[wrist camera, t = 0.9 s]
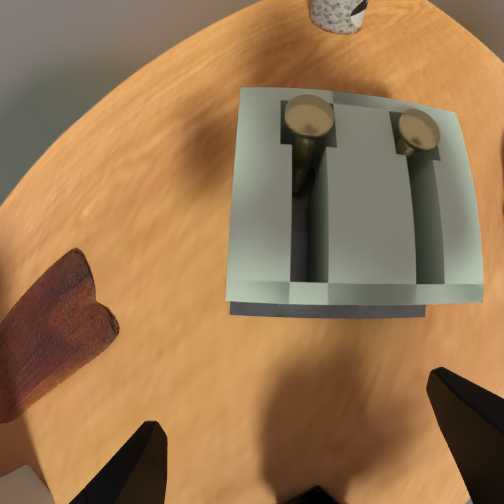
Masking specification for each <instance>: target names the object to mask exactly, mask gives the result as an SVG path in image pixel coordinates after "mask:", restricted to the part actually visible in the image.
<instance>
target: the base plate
mask: <svg viewBox="0 0 504 504" xmlns="http://www.w3.org/2000/svg"><path fill="white" fill-rule="evenodd" d="M334 118H335V115H334V111H333V109H332V107H331V106H330V104H329V103H328V102H327V101H325V100H324V99H322V98H320V97H318V96H314V95H299V96H296V97H294V98H292V99H291V100H290V101H289V102H288V103H287V105H286V107H285V116H284V120H285V124H286V126H287V128H288V129H289V130H290V131H291V132H292V133H293V134H294V135H295V143H294V151H293V159H292V215H291V259H290V282H307V256H308V200H309V197H310V194H311V191H312V188H313V185H314V182H315V168H309V164H310V160H311V156H312V152H313V148H314V144H315V140H316V139H319V138H322V137H324V136H326V135H327V134H328V133H329V132H330V130H331V129H332V126H333V122H334ZM397 130H398V133H399V135H400V137H401V138H400V139H399V141H398V142H397V144H396V145H395V149H396V154H399V155H406V160H408V159H409V158H410V156H411V155H412V154H413V153H414V152H415V151H418V152H429V151H431V150H432V149H433V148H434V147H435V146H436V145H437V144H438V143H439V141H440V130H439V127H438V125H437V124H436V122H435V121H434V120H433V118H432V117H431V116H429V115H428V114H427V113H425V112H423V111H421V110H418V109H407V110H405V111H404V112H403V113H402V115H401V117H400V118H399V120H398V122H397ZM230 315H245V316H266V317H294V318H406V317H425V305H373V306H364V305H300V304H271V303H248V302H234V301H230Z"/></svg>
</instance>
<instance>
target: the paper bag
mask: <svg viewBox="0 0 504 504" xmlns="http://www.w3.org/2000/svg"><path fill="white" fill-rule="evenodd" d="M0 504H55V502H54V500H53V497H52V495H51V493H50V491H49V490H48V488H47V487H46V486H45V485H44V483H43V482H42V481H41V479H40V478H39V477H38V476H37V474H36V473H35V472H34V470H33V469H32V468H31V467H30V466H29V465H24V466H22V467H20V468H18V469H16V470H15V471H13V472H11V473H9V474H7V475H5V476H3V477H1V478H0Z"/></svg>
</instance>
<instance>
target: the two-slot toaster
mask: <svg viewBox="0 0 504 504" xmlns="http://www.w3.org/2000/svg"><path fill="white" fill-rule="evenodd" d="M299 95H314V96H318V97H320V98H322V99H324V100H325V101H327V102H328V103H329V104H330V106H331V107H332V109H333V111H334V115H335V118H334V122H333V126H332V129H331V130H330V132H329V133H328V134H327V135H326V136H324V137H322V138H319V139H316V140H315V144H314V148H313V152H312V156H311V160H310V164H309V168H315V182H314V185H313V188H312V191H311V194H310V197H309V200H308V256H307V282H290V259H291V215H292V159H293V151H294V143H295V135H294V134H293V133H292V132H291V131H290V130H289V129H288V128H287V126H286V124H285V120H284V116H285V107H286V105H287V103H288V102H289V101H290V100H291V99H292V98H294V97H296V96H299ZM407 109H418V110H421V111H423V112H425V113H427V114H428V115H429V116H431V117H432V118H433V120H434V121H435V122H436V124H437V125H438V127H439V130H440V141H439V143H438V144H437V145H436V146H435V147H434V148H433V149H432V150H431V151H429V152H418V151H415V152H414V153H413V154H412V155H411V156H410V158H409V159H408V160H406V155H399V154H396V149H395V145H396V144H397V142H398V141H399V139H400V138H401V137H400V135H399V133H398V130H397V122H398V120H399V118H400V117H401V115H402V113H403V112H404V111H405V110H407ZM226 301H234V302H248V303H271V304H300V305H364V306H373V305H433V304H457V303H476V302H483V262H482V247H481V235H480V226H479V217H478V210H477V203H476V197H475V191H474V185H473V180H472V174H471V169H470V165H469V160H468V156H467V152H466V148H465V144H464V140H463V136H462V132H461V129H460V125H459V122H458V118H457V115H456V113H453V112H450V111H446V110H442V109H438V108H434V107H429V106H425V105H421V104H416V103H411V102H406V101H401V100H395V99H390V98H384V97H378V96H371V95H364V94H357V93H348V92H339V91H329V90H318V89H303V88H281V87H241V92H240V103H239V114H238V126H237V138H236V150H235V163H234V176H233V189H232V203H231V217H230V232H229V248H228V265H227V282H226Z"/></svg>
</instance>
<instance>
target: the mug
mask: <svg viewBox="0 0 504 504" xmlns="http://www.w3.org/2000/svg"><path fill="white" fill-rule="evenodd" d="M367 4H368V0H311V9H310V19H311V21H312V23H313V24H314V25H316V26H317V27H319V28H320V29H322V30H325V31H327V32H330V33H335V34H341V35H349V34H354V33H357V32H358V31H359V30H360V29H361V26H362V23H363V19H364V15H365V11H366V7H367Z"/></svg>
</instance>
